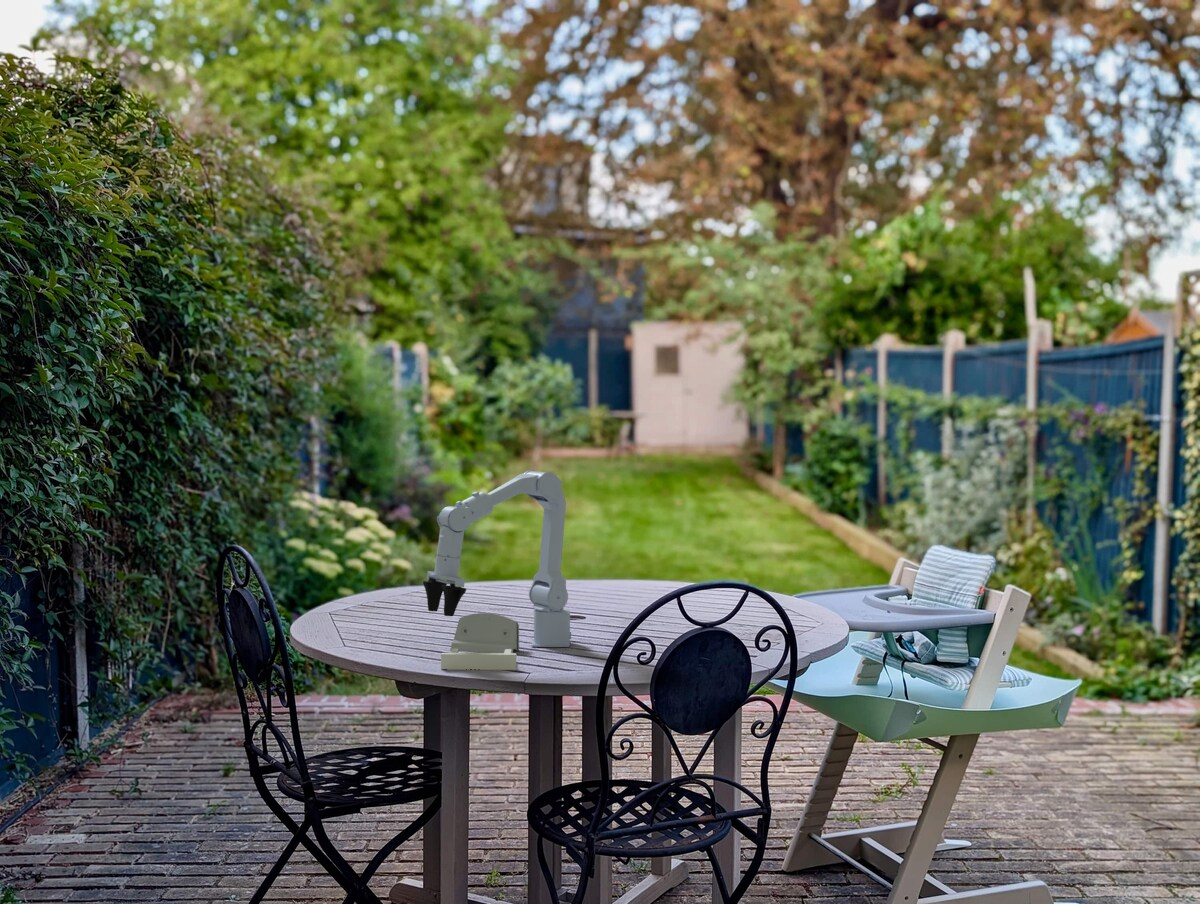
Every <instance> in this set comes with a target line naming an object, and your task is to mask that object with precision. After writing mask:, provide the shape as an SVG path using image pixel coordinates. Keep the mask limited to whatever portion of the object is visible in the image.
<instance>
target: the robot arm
mask: <svg viewBox="0 0 1200 904" xmlns="http://www.w3.org/2000/svg"><path fill="white" fill-rule="evenodd" d="M562 487H563V481H562V480H561V479H560V478H559V477H558V476H557V475H556V474H555V473H554V472H551V471H536V470H526V471H525V472H524V473H520V474H518V475H516V476H515V477H514V478H512V479H511V480H509V481H507V482H505V483H503V484H502V485H500V486H498V487H496V488H495V489H493V490H492V491H490V492H488V493H486V492H483V491H473V492H472V493H471V496H469V497H468V498H466V499H463V500H462V501H461V500H458V501H456V502H455V505H454V506H453V505H451V506H450V505H448V506H445V507H444V508H442V510H441V511H440V512H439V514H438V515H437V517H436V521H437V524H438V527H439V536H438V543H437V549H436V556H435V563H434V564H435V565H434V571H431V570H427V572H426V573H427V574H426V580H423V582H422V584H423V587H424V589H425V593H426V599H427V600H426V601H427V610H428V611H429V612H438V610H439V607H440V602H441V598H442V596H443V599H444V600H443V602H444V603H443V615H444V617H453V616H454V615H455V612H456V610H457V607H458V604H459V603H460V601H461V599H462V598H463V596H464V594H465V593H466V592H467V588H465V582H466V579H465V578H462V577H460V576H459V571H460V563H461V556H462V550H463V545H464V544H463V543H464V535H465V531H467V530H468V528H469V527H470V526H471V524H472V523H474V522H477V521H479V520H481V519H482V518H484V517H486V516H487V515H489V514H491V513H492V512H493V511H494V510H493V509H494V506H497V505H498V504H500V503H503V502H505V501H507V500H509V499H511V498H514V497H516V496H518V495H520V494H525V495H527V496H529V498H532V499H534V500H535V501H536V502H537V503H538V504H539V505H540V506H541V508H543V518H542V519H543V520H542V528H541V529H542V530H541V540H540V541H541V543H540V555H539V564H538V565H539V566H538V570H537V572H536V573H535V574H534V576H533V578H532V584H531V586H530V588H529V591H528V598H529V600H530V602H531V603H532V604H533V605H532V607H533V639H532V642H531V647H532V648H533V647H534V648H537V647H538V648H570V647H569V646H570V644H571V642H570V641H571V640H572V632H571V610H570V609H564V607H565V606H566V605H567V604H568V603H567V602H568V600H569V593H568V591H567V580H566V579H565V577H564V576H563V574H562V572H561V570H562V557H563V544H564V536H565V534H564V533H565V523H566V521H565V520H566V510H567V501H566V498H565V496H564V495H565V494H564V491H563V488H562Z"/></svg>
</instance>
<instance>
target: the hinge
mask: <svg viewBox="0 0 1200 904" xmlns="http://www.w3.org/2000/svg"><path fill="white" fill-rule="evenodd" d="M451 649H458V652H460V651H461V652H470V653H504V651H505V649H512V653H514V651H515V650H516V652H519V651H520V625H519V623H518V621H516V620H515V619H512V618H511V617H508V616H505V615H502V614H497V613H490V612H480V613H479V612H478V613H473V614H472V613H471V614H468V615H464V616H461V617H460V618H459V619H458V622H457V627H456V630H455V633H454V638H453V641H452V642H451V646H450V650H451Z"/></svg>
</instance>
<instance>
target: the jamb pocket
mask: <svg viewBox="0 0 1200 904" xmlns="http://www.w3.org/2000/svg"><path fill="white" fill-rule="evenodd" d="M441 669H447V670H454V671H455V670H456V671H457V670H459V671H460V670H461V671H463V670H464V671H467V670H470V669H472V670H470V671H475V670H474V669H476V671H479V670H478V669H480V671H516V670H517V653H515V652H513V653H512V649H505V651H504V653H485V652H459V651H458V649H451V648H450V651H449V652H441V654H440V670H441ZM466 669H467V670H466Z"/></svg>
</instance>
